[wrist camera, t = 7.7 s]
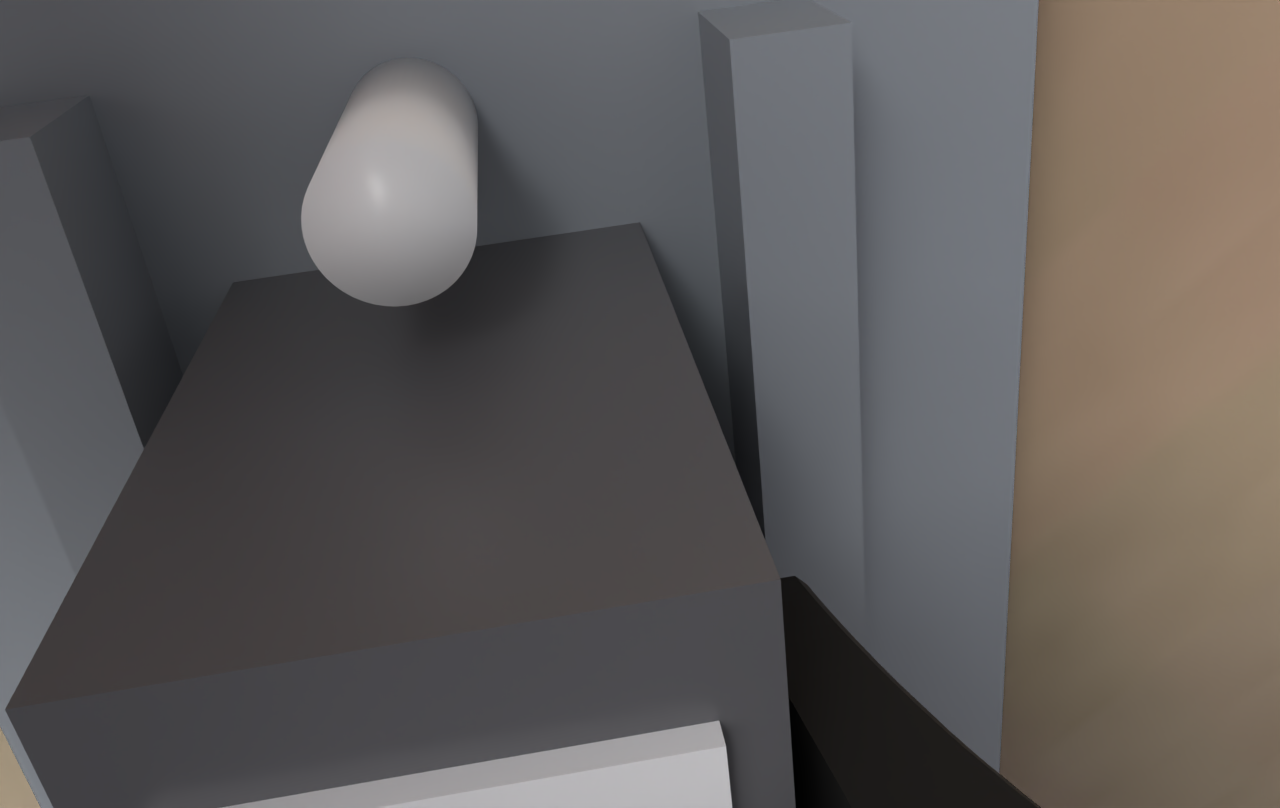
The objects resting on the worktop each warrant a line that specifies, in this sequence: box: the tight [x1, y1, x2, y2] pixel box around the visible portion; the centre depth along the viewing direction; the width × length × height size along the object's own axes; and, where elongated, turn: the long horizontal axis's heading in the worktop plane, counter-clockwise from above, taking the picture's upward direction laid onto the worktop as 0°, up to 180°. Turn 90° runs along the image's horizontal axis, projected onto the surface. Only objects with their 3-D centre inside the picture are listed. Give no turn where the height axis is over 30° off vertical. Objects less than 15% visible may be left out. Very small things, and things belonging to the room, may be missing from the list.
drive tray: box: [0, 0, 1039, 808], centre depth 12 cm, size 16×12×4 cm
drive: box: [5, 222, 796, 808], centre depth 10 cm, size 7×4×6 cm, turn 7°
